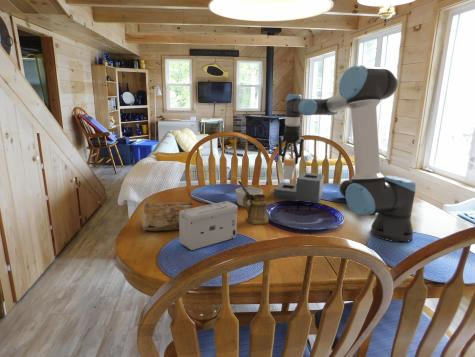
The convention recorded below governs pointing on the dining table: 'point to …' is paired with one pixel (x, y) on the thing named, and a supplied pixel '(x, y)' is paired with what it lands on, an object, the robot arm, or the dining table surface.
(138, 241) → the dining table surface
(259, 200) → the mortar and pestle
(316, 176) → the dock
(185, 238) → the stereo radio cassette player
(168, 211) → the petrified wood
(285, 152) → the robot arm
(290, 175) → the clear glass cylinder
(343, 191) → the dark grey cylinder
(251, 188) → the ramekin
